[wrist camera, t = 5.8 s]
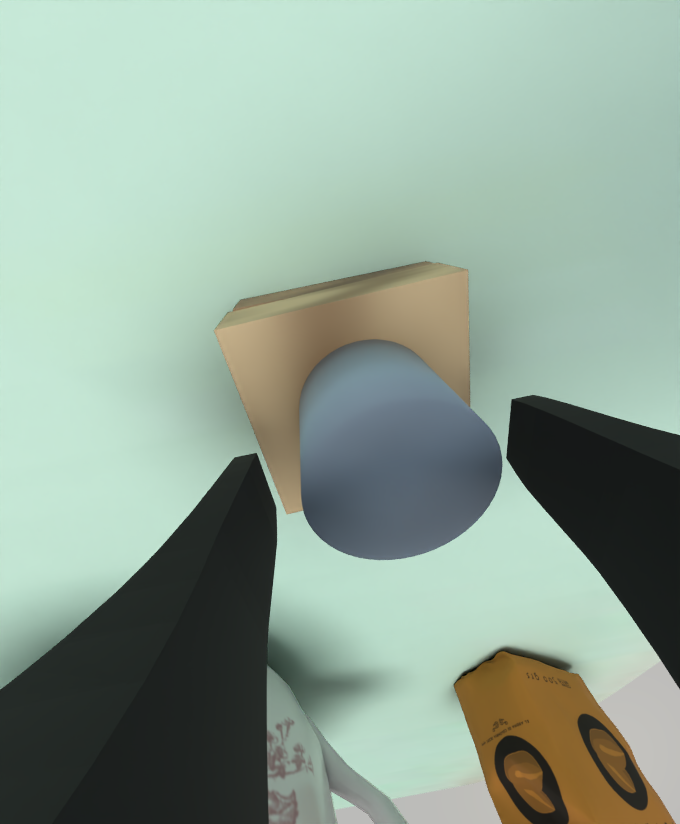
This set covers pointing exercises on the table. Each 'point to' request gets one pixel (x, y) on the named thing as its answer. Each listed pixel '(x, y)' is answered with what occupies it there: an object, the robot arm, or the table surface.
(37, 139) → the table surface
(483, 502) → the round block
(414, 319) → the oak slab
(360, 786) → the chamber pot
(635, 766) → the coffee package
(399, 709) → the table surface
